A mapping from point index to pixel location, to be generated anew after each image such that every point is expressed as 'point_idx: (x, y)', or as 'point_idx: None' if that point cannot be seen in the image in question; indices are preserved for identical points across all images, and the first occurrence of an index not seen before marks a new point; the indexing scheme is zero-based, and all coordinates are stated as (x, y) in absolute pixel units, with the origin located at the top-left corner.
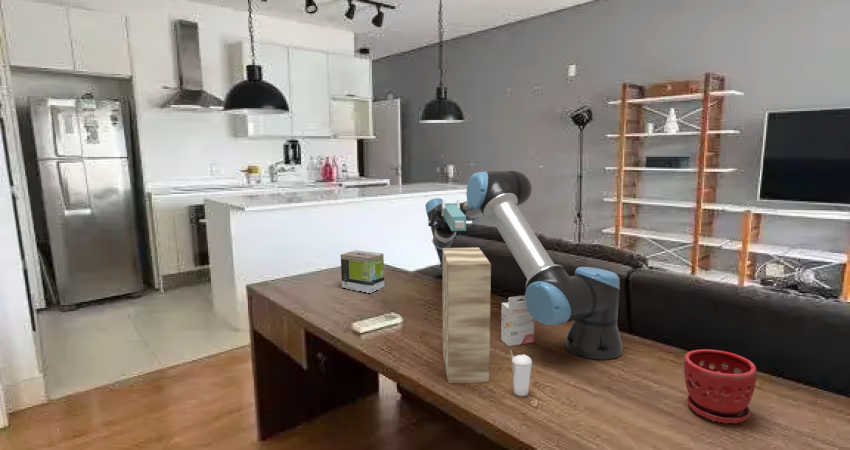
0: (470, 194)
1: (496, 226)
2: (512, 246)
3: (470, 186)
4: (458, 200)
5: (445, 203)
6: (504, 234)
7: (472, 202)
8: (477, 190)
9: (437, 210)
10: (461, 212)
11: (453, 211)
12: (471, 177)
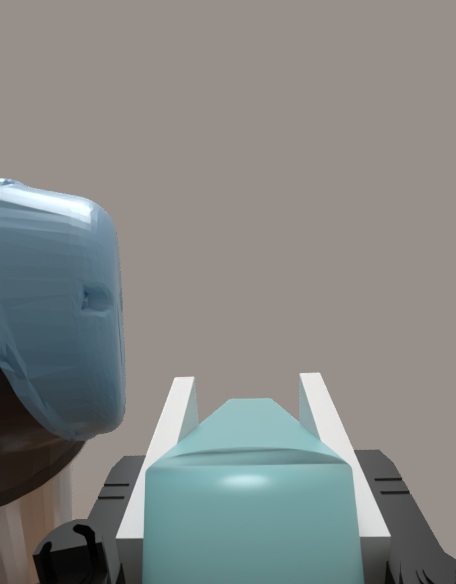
0: (120, 333)
1: (60, 488)
2: (71, 518)
3: (117, 280)
4: (182, 377)
5: (314, 488)
6: (71, 494)
7: (123, 384)
8: (122, 316)
9: (448, 563)
10: (227, 404)
11: (255, 405)
12: (114, 226)
